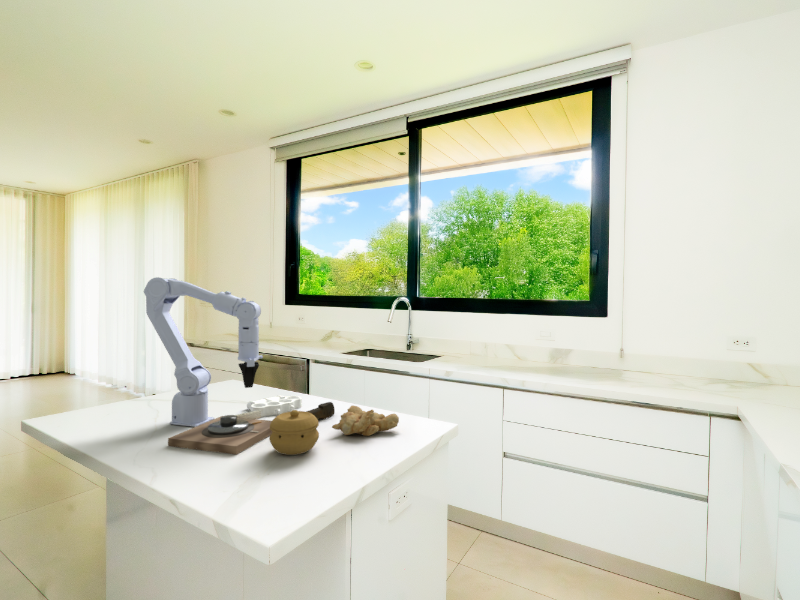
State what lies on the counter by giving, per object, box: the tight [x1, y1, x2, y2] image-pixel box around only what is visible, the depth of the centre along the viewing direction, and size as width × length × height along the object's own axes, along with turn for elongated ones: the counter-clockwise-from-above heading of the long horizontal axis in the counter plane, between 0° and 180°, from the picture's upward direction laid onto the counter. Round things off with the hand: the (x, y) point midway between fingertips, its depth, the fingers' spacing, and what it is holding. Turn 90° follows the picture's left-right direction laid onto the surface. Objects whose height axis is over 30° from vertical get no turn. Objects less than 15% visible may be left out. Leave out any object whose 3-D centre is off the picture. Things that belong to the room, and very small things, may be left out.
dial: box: [208, 410, 262, 435], centre depth 113 cm, size 14×10×3 cm
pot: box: [268, 409, 320, 456], centre depth 102 cm, size 12×12×10 cm
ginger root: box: [331, 405, 400, 437], centre depth 117 cm, size 16×16×8 cm
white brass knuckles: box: [246, 395, 303, 418], centre depth 139 cm, size 3×18×15 cm
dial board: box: [167, 415, 272, 456], centre depth 112 cm, size 20×20×2 cm
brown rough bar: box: [305, 401, 335, 420], centre depth 126 cm, size 19×4×5 cm, turn 142°
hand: (248, 387), depth 125 cm, fingers closed
